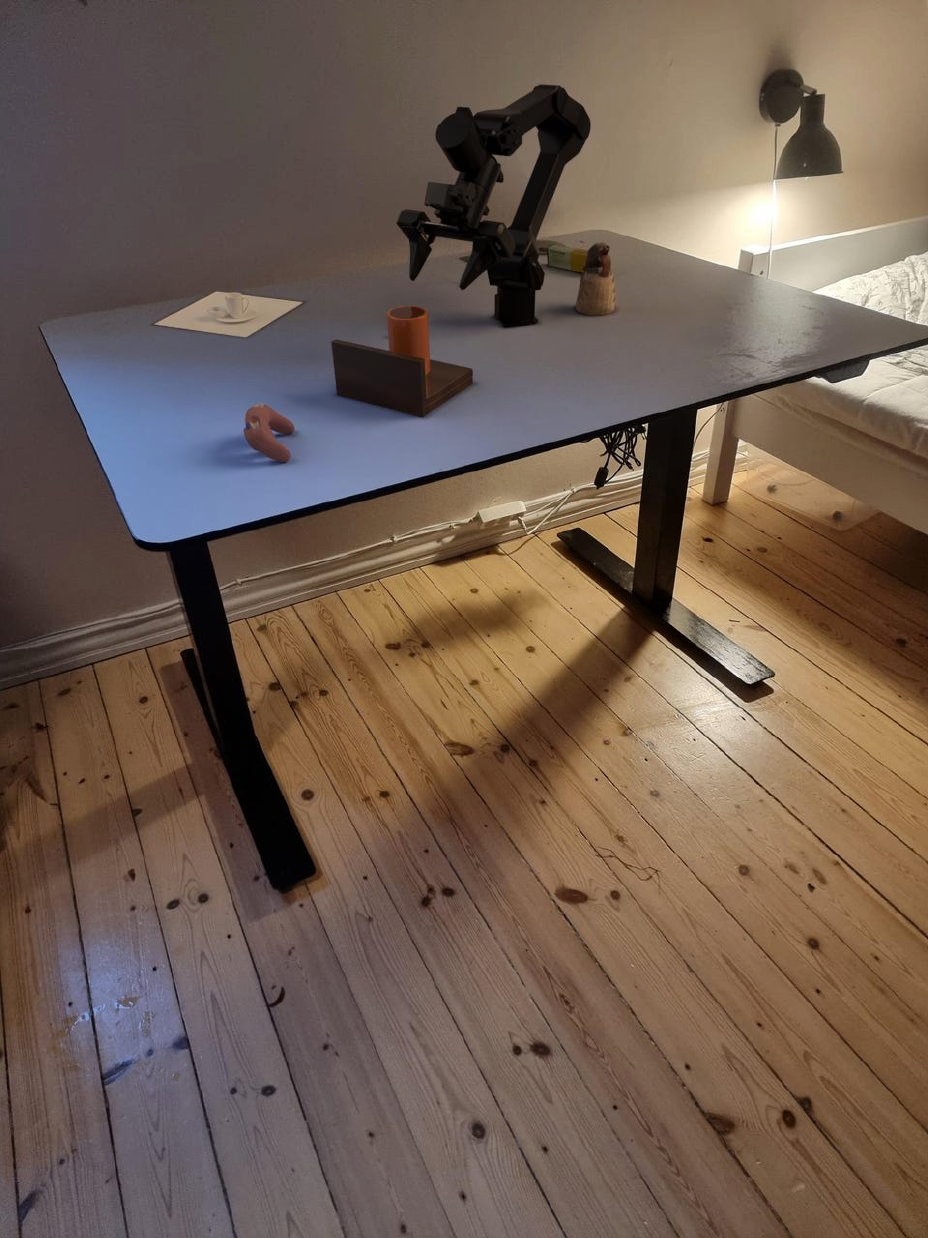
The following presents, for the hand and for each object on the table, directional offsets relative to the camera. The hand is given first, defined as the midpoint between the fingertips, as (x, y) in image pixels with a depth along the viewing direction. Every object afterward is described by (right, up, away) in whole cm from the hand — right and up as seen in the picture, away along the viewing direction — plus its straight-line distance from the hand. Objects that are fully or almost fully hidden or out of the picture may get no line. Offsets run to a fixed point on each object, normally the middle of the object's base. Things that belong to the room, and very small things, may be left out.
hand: (435, 283), depth 137 cm
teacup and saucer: (-40, +6, +31) cm, 51 cm away
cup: (-4, -13, +1) cm, 14 cm away
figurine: (+29, +6, +30) cm, 42 cm away
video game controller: (-22, -28, -13) cm, 38 cm away
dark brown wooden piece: (-5, -16, +2) cm, 17 cm away
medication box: (+27, +21, +49) cm, 60 cm away
